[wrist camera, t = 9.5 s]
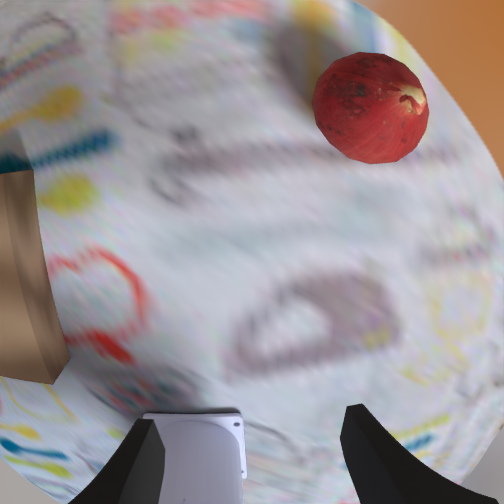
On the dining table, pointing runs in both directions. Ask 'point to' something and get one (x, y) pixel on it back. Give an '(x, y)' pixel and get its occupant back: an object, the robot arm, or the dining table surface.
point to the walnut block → (26, 289)
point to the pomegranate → (371, 108)
